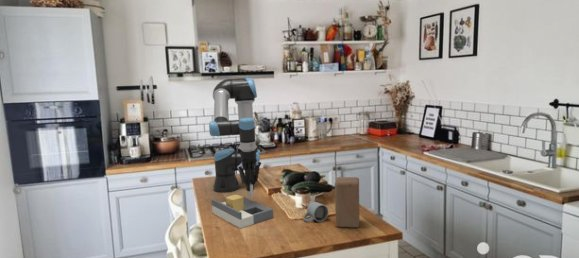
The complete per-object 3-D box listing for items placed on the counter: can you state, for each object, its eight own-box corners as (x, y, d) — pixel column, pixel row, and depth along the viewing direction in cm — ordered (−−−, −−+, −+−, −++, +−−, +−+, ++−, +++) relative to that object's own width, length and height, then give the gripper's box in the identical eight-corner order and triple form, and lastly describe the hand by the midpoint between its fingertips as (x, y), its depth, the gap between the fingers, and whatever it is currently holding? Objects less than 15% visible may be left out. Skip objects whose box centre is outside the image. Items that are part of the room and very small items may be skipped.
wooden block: (359, 228, 164) (358, 183, 161) (335, 227, 166) (334, 182, 163) (359, 219, 173) (359, 176, 170) (337, 218, 175) (336, 176, 172)
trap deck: (243, 204, 200) (242, 191, 199) (273, 217, 180) (272, 203, 179) (212, 213, 189) (211, 199, 188) (240, 228, 169) (239, 213, 168)
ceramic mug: (319, 214, 182) (319, 198, 181) (329, 219, 174) (328, 203, 173) (300, 219, 177) (299, 203, 176) (308, 225, 170) (307, 208, 169)
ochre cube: (237, 206, 185) (236, 194, 184) (244, 209, 181) (243, 197, 180) (226, 209, 182) (225, 197, 181) (233, 212, 177) (232, 200, 176)
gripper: (240, 153, 178) (243, 201, 182) (263, 148, 186) (266, 195, 190) (232, 151, 184) (235, 198, 188) (255, 146, 192) (257, 191, 196)
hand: (250, 196), depth 189 cm, fingers closed
